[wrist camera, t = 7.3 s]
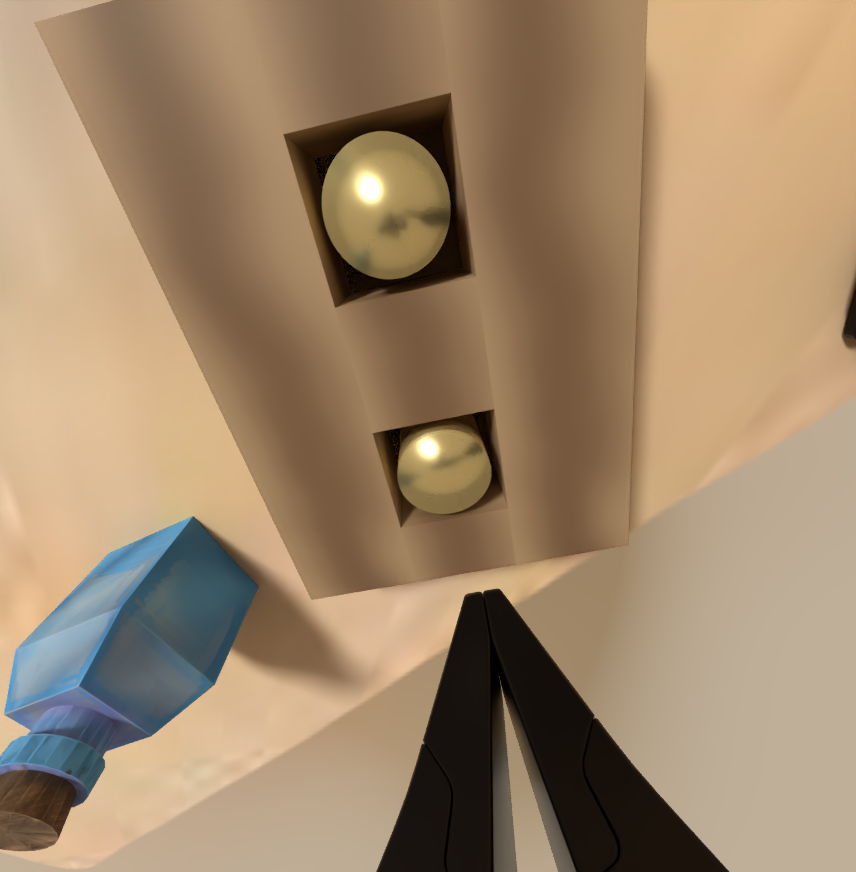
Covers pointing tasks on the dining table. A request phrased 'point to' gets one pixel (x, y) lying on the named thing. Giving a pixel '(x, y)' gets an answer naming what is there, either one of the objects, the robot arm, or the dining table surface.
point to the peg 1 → (386, 205)
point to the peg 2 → (443, 464)
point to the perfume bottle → (114, 670)
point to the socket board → (402, 302)
